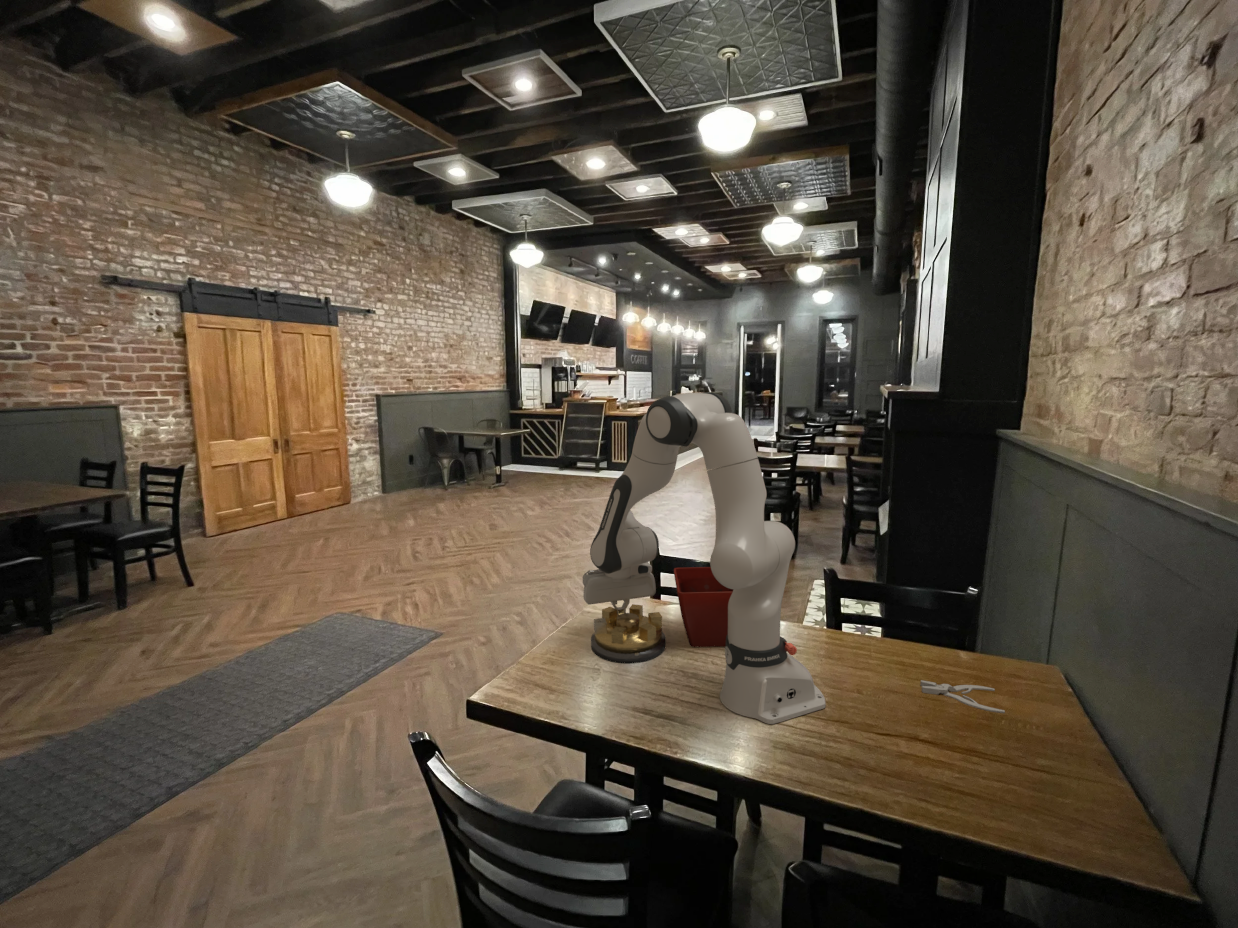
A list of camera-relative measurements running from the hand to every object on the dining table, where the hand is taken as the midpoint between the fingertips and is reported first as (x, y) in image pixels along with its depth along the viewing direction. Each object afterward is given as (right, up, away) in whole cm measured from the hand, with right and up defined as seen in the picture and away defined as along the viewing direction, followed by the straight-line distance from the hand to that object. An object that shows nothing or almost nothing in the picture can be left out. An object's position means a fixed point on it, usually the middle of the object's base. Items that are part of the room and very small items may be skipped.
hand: (620, 614), depth 157 cm
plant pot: (+25, -6, -3) cm, 26 cm away
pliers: (+75, -10, -33) cm, 82 cm away
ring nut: (+2, -4, -7) cm, 8 cm away
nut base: (+2, -7, -6) cm, 9 cm away
